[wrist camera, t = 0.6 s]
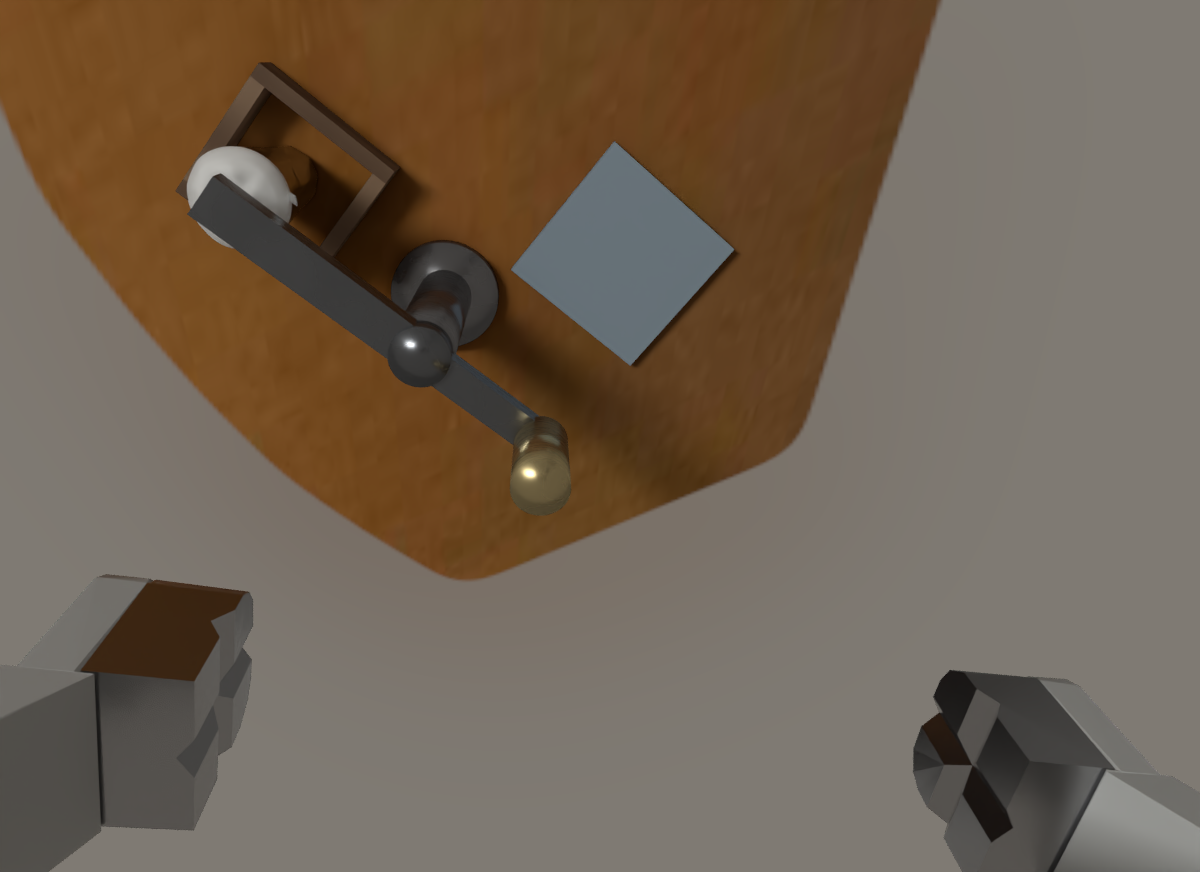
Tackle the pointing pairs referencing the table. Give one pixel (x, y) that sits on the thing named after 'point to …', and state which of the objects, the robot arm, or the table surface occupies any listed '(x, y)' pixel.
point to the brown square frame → (324, 120)
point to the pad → (622, 255)
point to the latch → (393, 338)
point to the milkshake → (259, 177)
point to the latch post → (447, 289)
